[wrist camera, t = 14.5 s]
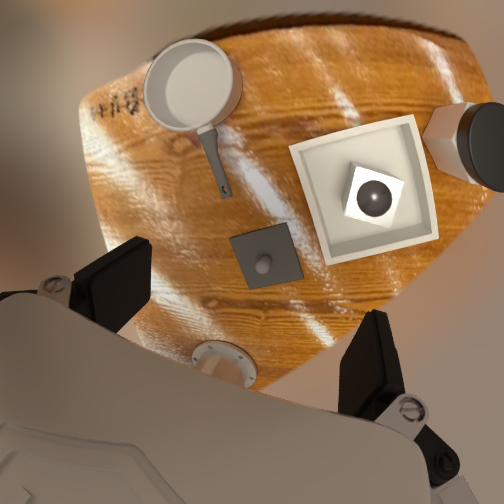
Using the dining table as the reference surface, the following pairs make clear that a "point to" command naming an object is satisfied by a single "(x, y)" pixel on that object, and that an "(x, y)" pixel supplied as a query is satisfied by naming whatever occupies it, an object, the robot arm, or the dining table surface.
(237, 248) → the ball stud
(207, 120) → the saucepan
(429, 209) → the bin
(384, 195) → the metal block
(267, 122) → the dining table surface
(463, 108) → the jar
